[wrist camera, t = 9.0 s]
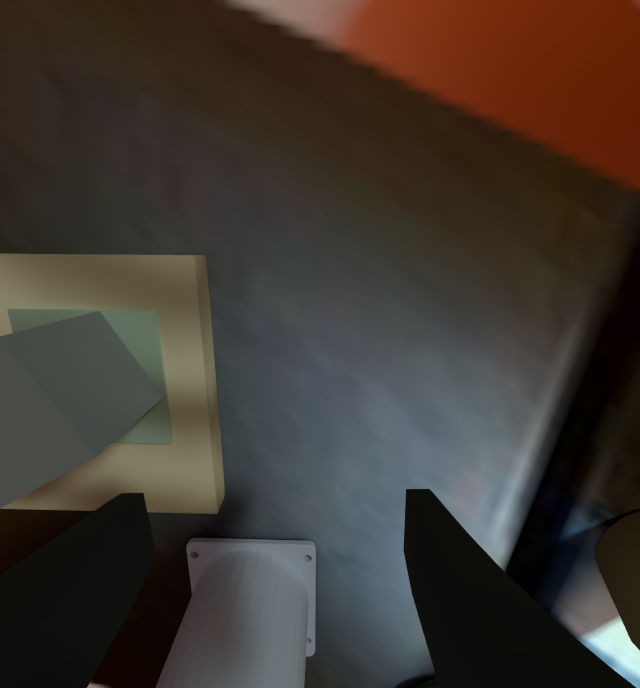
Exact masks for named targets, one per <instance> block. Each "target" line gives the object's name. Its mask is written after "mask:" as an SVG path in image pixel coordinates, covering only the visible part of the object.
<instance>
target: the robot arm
mask: <svg viewBox="0 0 640 688" xmlns="http://www.w3.org/2000/svg"><path fill="white" fill-rule="evenodd" d="M186 550H187V558H188V566H189V575H190V583H191V591H192V597H191V599H190V602H189V605H188V607H187V610H186V612H185V615H184V617H183V620H182V622H181V625H180V627H179V630H178V632H177V635H176V637H175V640H174V642H173V645H172V648H171V650H170V653H169V655H168V658H167V660H166V663H165V665H164V668H163V670H162V673H161V675H160V678H159V680H158V683H157V685H156V688H304V678H305V660H306V656H312V655H313V654H314V653H315V607H316V546H315V544H314V543H313V542H311V541H303V540H264V539H226V538H192V539H190V540H189V542H188V544H187V546H186ZM195 552H196V553H195ZM155 553H156V551H155V546H154V542H153V537H152V532H151V527H150V522H149V518H148V513H147V508H146V503H145V498H144V494H143V493H121V494H119V495H118V496H116V497H114V498H113V499H111V500H110V501H108V502H107V503H105V504H104V505H102V506H101V507H99V508H98V509H96V510H95V511H93V512H92V513H90V514H89V515H87V516H86V517H85V518H83V519H82V520H80V521H79V522H77V523H76V524H74V525H73V526H72V527H70V528H69V529H67V530H66V531H64V532H63V533H61V534H60V535H59V536H57V537H56V538H54V539H53V540H51V541H50V542H48V543H47V544H45V545H44V546H43V547H41V548H40V549H38V550H37V551H35V552H34V553H32V554H31V555H29V556H28V557H26V558H25V559H23V560H22V561H20V562H19V563H17V564H16V565H14V566H13V567H11V568H9V569H8V570H6V571H5V572H3V573H2V574H0V688H87V687H88V685H89V683H90V681H91V679H92V678H93V676H94V674H95V672H96V670H97V668H98V667H99V665H100V663H101V661H102V659H103V658H104V656H105V654H106V652H107V650H108V649H109V647H110V645H111V643H112V641H113V640H114V638H115V636H116V634H117V632H118V631H119V629H120V627H121V625H122V623H123V621H124V620H125V618H126V616H127V614H128V612H129V610H130V609H131V607H132V605H133V603H134V601H135V599H136V597H137V595H138V593H139V591H140V589H141V586H142V584H143V582H144V580H145V577H146V575H147V573H148V570H149V568H150V565H151V563H152V560H153V558H154V555H155ZM404 554H405V560H406V565H407V570H408V576H409V581H410V586H411V591H412V595H413V598H414V602H415V605H416V609H417V612H418V616H419V619H420V623H421V626H422V629H423V633H424V636H425V639H426V643H427V646H428V650H429V653H430V656H431V660H432V663H433V666H434V670H435V673H436V677H437V680H438V683H439V687H440V688H636V687H635V686H633V685H632V684H631V683H630V682H628V681H627V680H626V679H625V678H623V677H622V676H621V675H619V674H618V673H617V672H616V671H614V670H613V669H612V668H611V667H609V666H608V665H607V664H606V663H605V662H603V661H602V660H601V659H600V658H599V657H597V656H596V655H595V654H594V653H592V652H591V651H590V650H589V649H588V648H587V647H585V646H584V645H583V644H582V643H581V642H580V641H578V640H577V639H576V638H575V637H574V636H573V635H572V634H570V633H569V632H568V631H567V630H566V629H565V628H564V627H562V626H561V625H560V624H559V623H558V622H557V621H556V620H554V619H553V618H552V617H551V616H550V615H549V614H548V613H547V612H546V611H545V610H543V609H542V608H541V607H540V606H539V605H538V604H537V603H536V602H535V601H534V600H533V599H532V598H531V597H530V596H529V595H528V594H527V593H525V592H524V591H523V590H522V589H521V588H520V587H519V586H518V585H517V584H516V583H515V582H514V581H513V580H512V579H511V578H510V577H509V576H508V575H507V574H506V573H505V572H504V571H503V570H502V569H501V568H500V567H499V566H498V565H497V564H496V563H495V562H494V561H493V559H492V558H491V557H490V556H489V555H488V554H487V553H486V552H485V551H484V550H483V549H482V548H481V547H480V546H479V545H478V544H477V542H476V541H475V540H474V539H473V538H472V537H471V536H470V535H469V534H468V533H467V532H466V530H465V529H464V528H463V527H462V526H461V525H460V524H459V523H458V521H457V520H456V519H455V518H454V517H453V516H452V515H451V513H450V512H449V511H448V510H447V509H446V508H445V506H444V505H443V504H442V503H441V502H440V500H439V499H438V498H437V497H436V496H435V495H434V493H433V492H432V491H431V490H430V489H406V507H405V532H404ZM305 555H310V556H305Z"/></svg>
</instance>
